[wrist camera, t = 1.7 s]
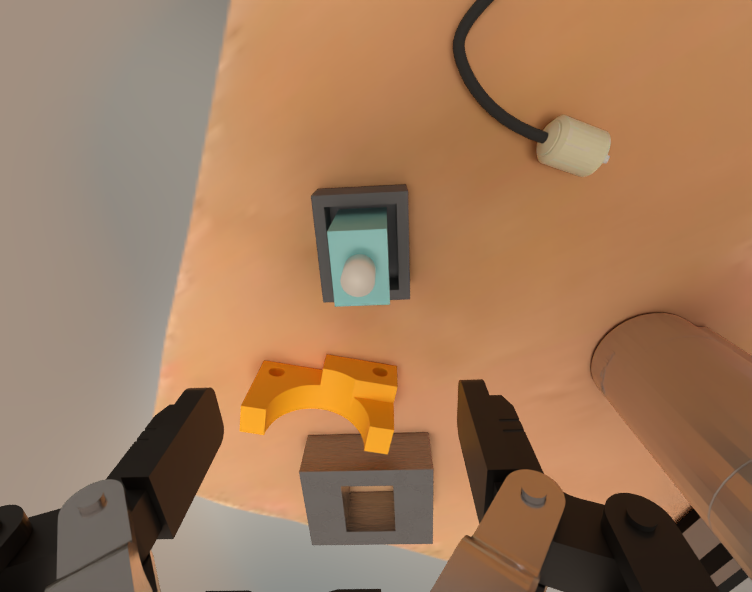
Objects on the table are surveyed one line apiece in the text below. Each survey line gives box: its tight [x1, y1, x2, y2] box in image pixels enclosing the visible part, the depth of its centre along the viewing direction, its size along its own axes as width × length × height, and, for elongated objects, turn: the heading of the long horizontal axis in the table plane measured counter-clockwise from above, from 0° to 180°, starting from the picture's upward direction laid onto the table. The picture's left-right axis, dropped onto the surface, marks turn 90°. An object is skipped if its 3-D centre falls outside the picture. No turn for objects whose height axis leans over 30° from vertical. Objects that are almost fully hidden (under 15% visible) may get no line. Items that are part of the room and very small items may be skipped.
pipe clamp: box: [240, 354, 398, 454], centre depth 34 cm, size 12×4×6 cm, turn 80°
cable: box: [453, 0, 611, 177], centre depth 23 cm, size 16×16×4 cm
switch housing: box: [299, 433, 433, 545], centre depth 39 cm, size 12×10×4 cm
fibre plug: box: [327, 207, 390, 307], centre depth 27 cm, size 4×5×8 cm
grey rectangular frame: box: [311, 184, 410, 302], centre depth 30 cm, size 7×8×3 cm
